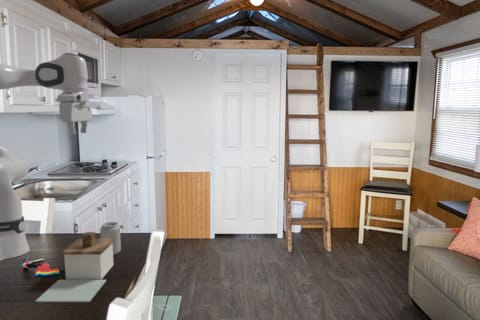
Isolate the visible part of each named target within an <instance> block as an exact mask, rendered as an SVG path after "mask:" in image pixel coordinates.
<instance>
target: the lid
mask: <svg viewBox="0 0 480 320" xmlns="http://www.w3.org/2000/svg"><path fill="white" fill-rule="evenodd" d="M81 237H82V238H80V237H79V238H78V239H76V240H75V241H73V243H71V244H70V245H68V246H67V247H66V248H65V249H64V250H62V251H61V255H63V256H64V255H96V254H102V253H103V252H104V251H105V250H106V249H107V248H108V247H109V246H110V245H111V244H112V243H113V242H114V238H101V237H100V238H97V237H96V232H95V231H90V232H89V231H85V232H84V233H83V234H82V235H81Z"/></svg>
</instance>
